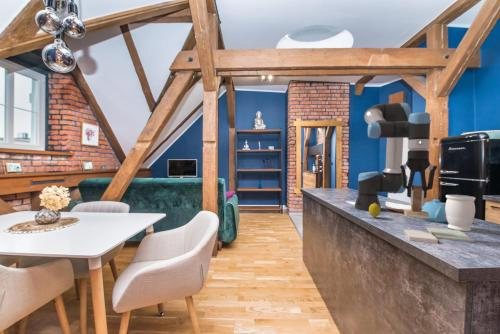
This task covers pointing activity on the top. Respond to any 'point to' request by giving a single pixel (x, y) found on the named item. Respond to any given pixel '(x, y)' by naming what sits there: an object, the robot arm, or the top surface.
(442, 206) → the teapot
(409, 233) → the tile
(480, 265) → the top surface
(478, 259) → the top surface
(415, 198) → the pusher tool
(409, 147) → the robot arm
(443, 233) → the tool mat
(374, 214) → the lemon
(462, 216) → the jar
